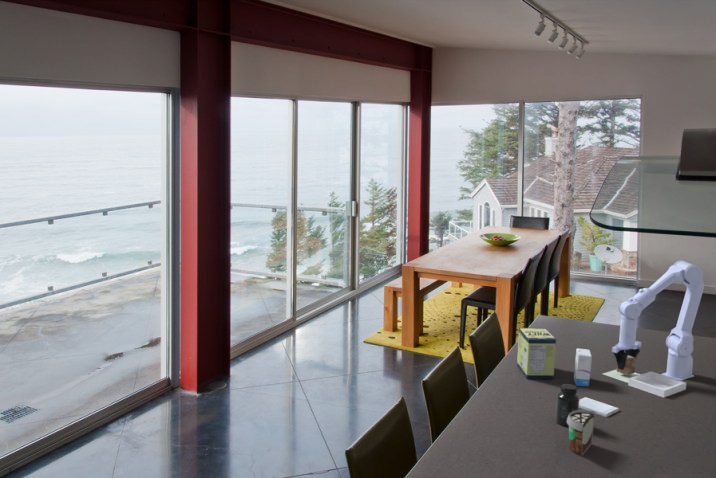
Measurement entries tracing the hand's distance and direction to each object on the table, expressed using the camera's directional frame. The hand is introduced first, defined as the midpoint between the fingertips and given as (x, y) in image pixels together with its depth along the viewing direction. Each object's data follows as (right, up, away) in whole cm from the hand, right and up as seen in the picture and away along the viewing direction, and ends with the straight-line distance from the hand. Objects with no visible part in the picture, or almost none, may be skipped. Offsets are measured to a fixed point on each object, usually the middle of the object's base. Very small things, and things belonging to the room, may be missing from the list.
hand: (624, 367), depth 268 cm
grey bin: (+7, -5, -11) cm, 14 cm away
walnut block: (0, -2, 0) cm, 2 cm away
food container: (-37, -13, -59) cm, 71 cm away
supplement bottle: (-34, -10, -42) cm, 55 cm away
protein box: (-33, -3, +4) cm, 34 cm away
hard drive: (-21, -9, -30) cm, 38 cm away
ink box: (-18, -4, -6) cm, 20 cm away
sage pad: (0, -3, +1) cm, 3 cm away
